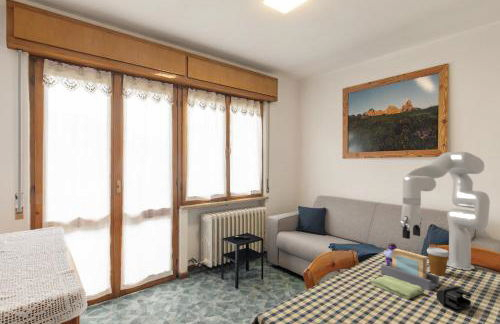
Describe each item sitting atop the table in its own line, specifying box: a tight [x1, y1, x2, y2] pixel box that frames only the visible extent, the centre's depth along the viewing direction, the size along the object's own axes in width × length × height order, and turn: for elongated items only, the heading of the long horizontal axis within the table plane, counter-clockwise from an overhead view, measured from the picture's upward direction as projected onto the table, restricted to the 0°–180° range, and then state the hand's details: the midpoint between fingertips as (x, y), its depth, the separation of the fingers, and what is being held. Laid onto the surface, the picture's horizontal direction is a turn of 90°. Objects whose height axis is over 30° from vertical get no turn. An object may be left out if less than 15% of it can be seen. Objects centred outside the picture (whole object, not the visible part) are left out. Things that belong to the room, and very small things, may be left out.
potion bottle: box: [383, 242, 398, 267], centre depth 146 cm, size 9×9×12 cm
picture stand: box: [380, 262, 440, 292], centre depth 128 cm, size 10×22×4 cm, turn 33°
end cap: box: [435, 285, 472, 313], centre depth 104 cm, size 10×7×7 cm
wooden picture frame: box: [392, 248, 428, 279], centre depth 128 cm, size 4×14×11 cm, turn 33°
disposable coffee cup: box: [426, 246, 449, 276], centre depth 136 cm, size 10×10×12 cm
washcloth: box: [370, 275, 425, 300], centre depth 118 cm, size 13×18×3 cm
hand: (411, 236), depth 128 cm, fingers open, 9 cm apart
